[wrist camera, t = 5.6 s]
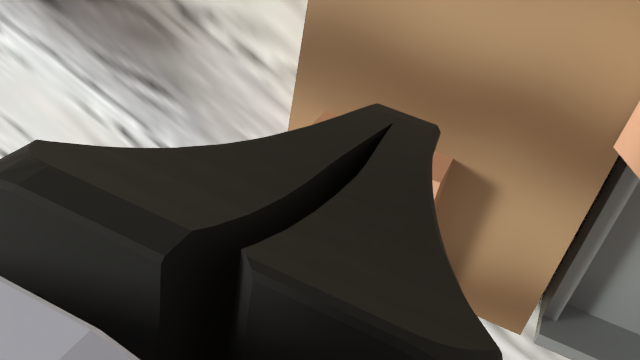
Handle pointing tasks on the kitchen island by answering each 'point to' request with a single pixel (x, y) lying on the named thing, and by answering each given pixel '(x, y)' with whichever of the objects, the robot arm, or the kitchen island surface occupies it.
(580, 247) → the tray
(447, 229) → the walnut board
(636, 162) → the tile right
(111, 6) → the kitchen island surface
